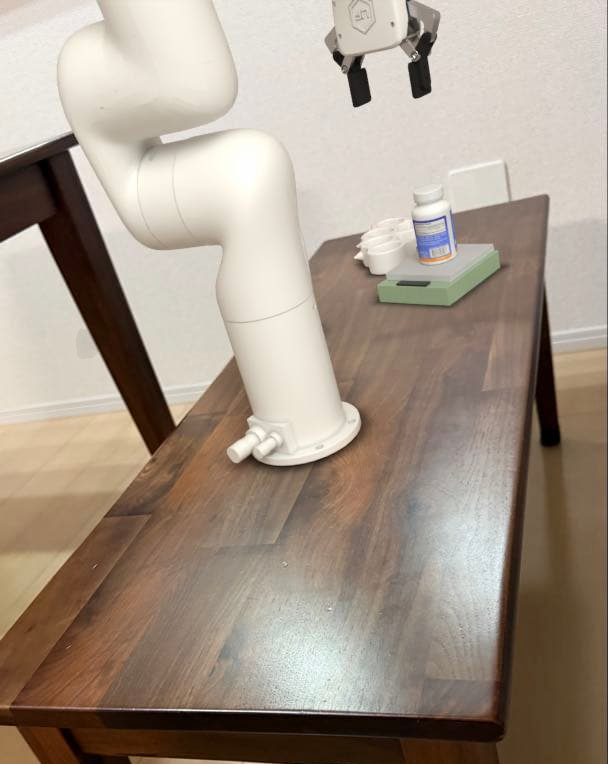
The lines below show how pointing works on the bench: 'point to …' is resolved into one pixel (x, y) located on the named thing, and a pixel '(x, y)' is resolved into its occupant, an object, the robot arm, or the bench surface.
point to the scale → (439, 277)
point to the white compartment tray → (387, 244)
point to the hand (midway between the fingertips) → (391, 100)
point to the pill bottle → (433, 225)
